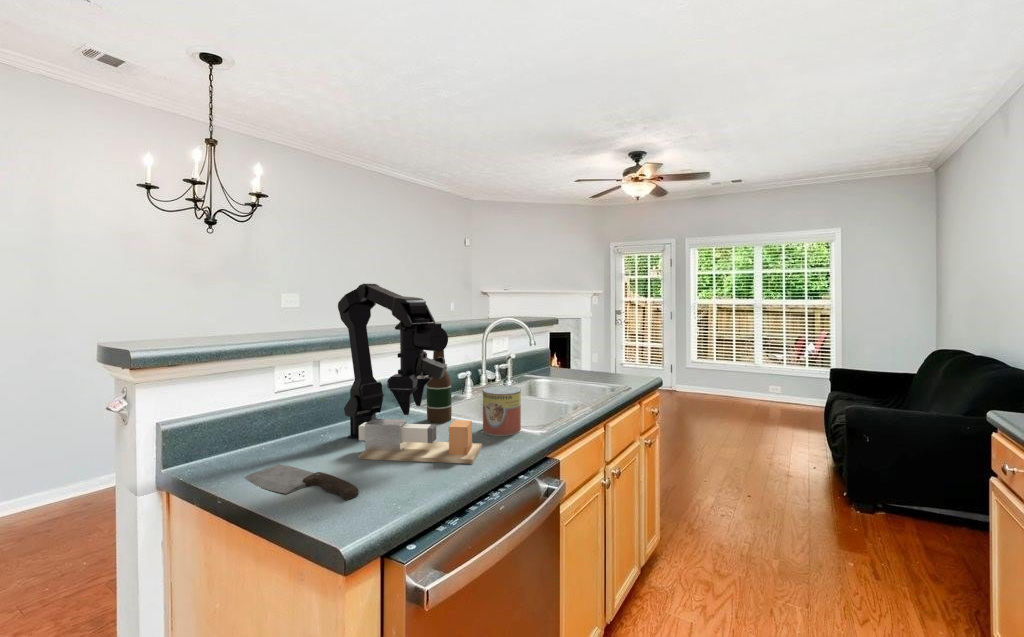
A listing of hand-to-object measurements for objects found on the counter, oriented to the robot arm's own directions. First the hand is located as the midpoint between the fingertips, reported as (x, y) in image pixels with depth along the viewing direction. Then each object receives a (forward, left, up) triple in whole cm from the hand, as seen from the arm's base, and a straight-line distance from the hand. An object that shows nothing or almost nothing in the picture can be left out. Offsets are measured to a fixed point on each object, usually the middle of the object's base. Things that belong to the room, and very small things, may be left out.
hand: (412, 410), depth 121 cm
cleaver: (-17, -22, -12) cm, 30 cm away
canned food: (+20, +22, -11) cm, 31 cm away
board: (+3, 0, -11) cm, 11 cm away
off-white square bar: (-4, 0, -8) cm, 9 cm away
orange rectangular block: (+12, 0, -10) cm, 16 cm away
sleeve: (-7, 0, -11) cm, 13 cm away
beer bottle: (-2, +30, -11) cm, 32 cm away
